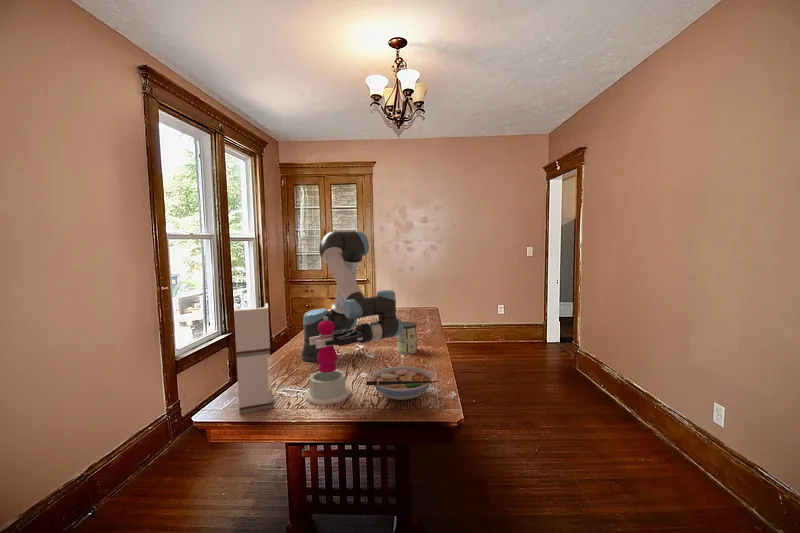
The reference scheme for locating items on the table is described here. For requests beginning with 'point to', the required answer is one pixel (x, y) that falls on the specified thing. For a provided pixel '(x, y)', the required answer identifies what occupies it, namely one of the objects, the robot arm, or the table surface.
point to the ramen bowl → (401, 382)
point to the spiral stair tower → (252, 358)
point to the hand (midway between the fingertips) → (313, 343)
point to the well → (327, 388)
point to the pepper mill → (326, 354)
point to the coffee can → (407, 339)
